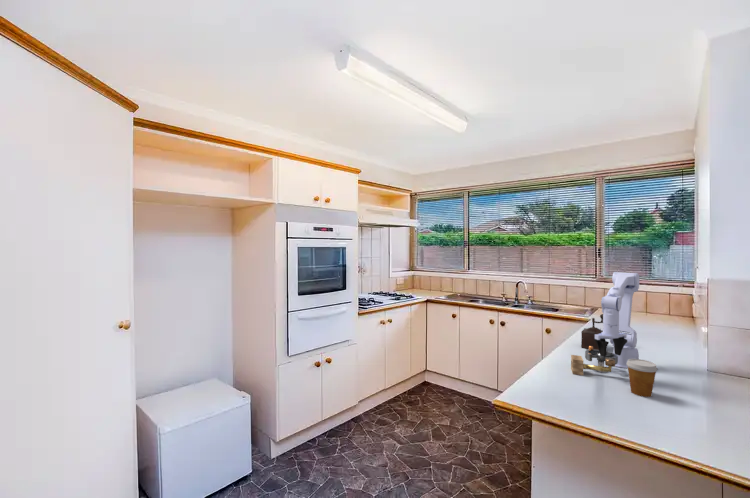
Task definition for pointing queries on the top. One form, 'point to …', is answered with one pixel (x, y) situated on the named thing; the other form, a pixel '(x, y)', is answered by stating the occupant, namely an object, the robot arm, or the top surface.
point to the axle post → (601, 363)
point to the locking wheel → (596, 354)
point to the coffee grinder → (590, 335)
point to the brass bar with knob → (608, 362)
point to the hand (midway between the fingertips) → (610, 355)
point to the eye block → (577, 364)
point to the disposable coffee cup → (641, 376)
